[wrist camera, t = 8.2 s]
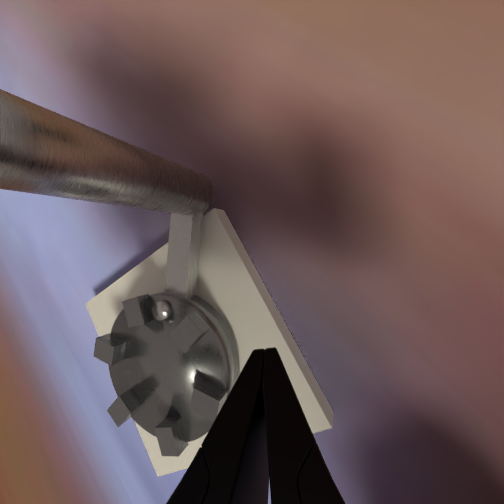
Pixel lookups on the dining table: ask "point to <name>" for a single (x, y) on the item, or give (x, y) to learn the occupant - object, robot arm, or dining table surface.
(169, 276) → the grey l-shaped piece
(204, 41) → the dining table surface
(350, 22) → the dining table surface
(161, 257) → the base plate
